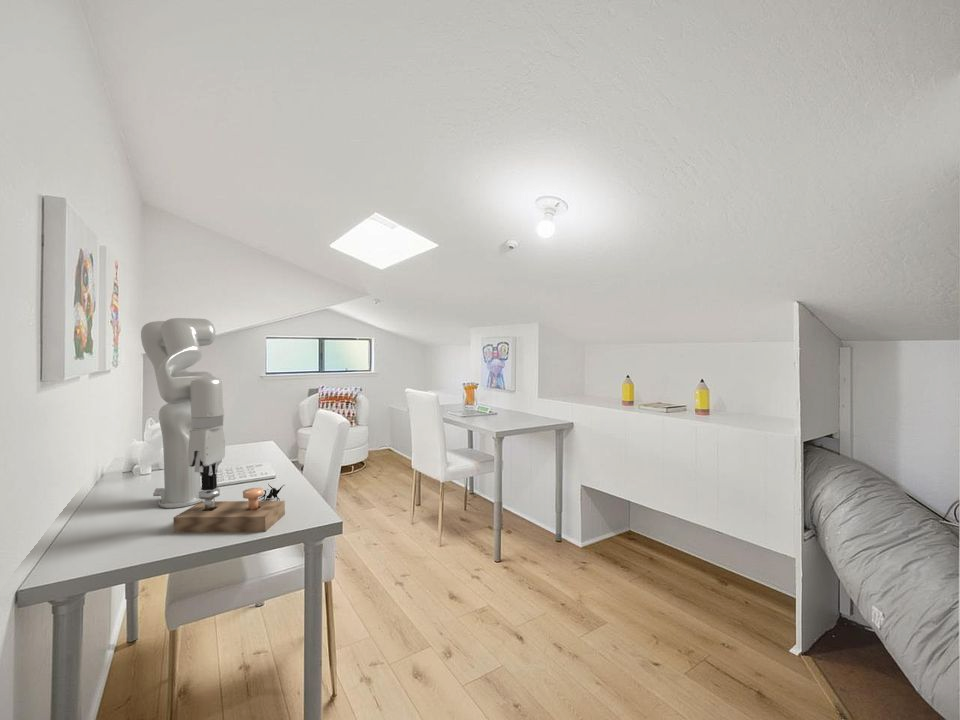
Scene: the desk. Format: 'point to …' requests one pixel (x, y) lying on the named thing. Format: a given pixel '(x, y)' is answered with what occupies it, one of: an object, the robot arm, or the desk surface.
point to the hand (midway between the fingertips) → (209, 488)
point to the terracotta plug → (253, 497)
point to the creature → (271, 493)
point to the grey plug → (209, 498)
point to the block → (230, 517)
